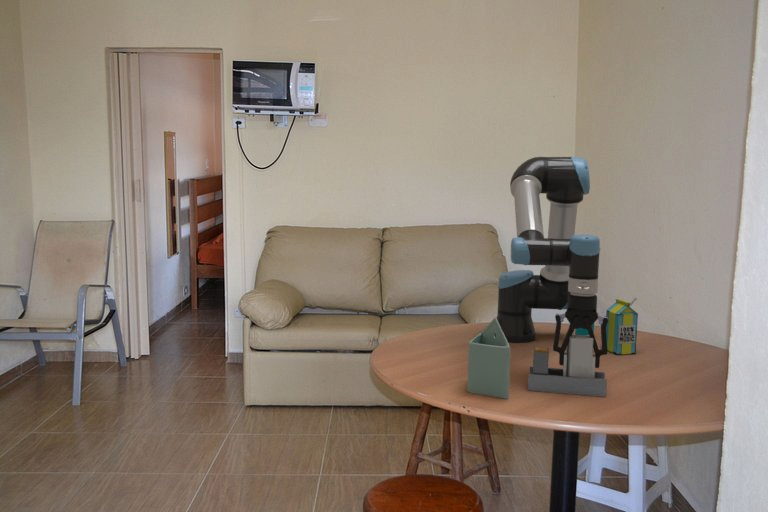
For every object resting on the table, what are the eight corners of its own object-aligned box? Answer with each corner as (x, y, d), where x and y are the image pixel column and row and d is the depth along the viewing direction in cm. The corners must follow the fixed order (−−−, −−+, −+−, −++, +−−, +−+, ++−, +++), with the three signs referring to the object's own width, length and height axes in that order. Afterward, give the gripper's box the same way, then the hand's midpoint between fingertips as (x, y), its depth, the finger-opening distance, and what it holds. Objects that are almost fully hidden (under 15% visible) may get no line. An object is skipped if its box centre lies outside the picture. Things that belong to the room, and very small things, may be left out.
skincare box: (587, 377, 194) (590, 334, 193) (591, 383, 190) (594, 338, 188) (564, 377, 194) (567, 333, 193) (568, 382, 190) (571, 337, 188)
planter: (454, 383, 197) (456, 313, 195) (480, 380, 200) (482, 311, 198) (481, 402, 182) (484, 326, 180) (509, 398, 185) (512, 324, 182)
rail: (529, 382, 199) (530, 344, 198) (603, 388, 194) (606, 349, 193) (528, 390, 192) (529, 351, 190) (605, 396, 187) (608, 357, 186)
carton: (638, 354, 230) (641, 298, 227) (616, 355, 228) (619, 299, 226) (625, 348, 237) (628, 294, 235) (604, 349, 235) (607, 295, 233)
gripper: (544, 294, 188) (540, 379, 191) (622, 298, 183) (617, 385, 186) (544, 289, 195) (541, 371, 198) (619, 293, 190) (615, 377, 193)
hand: (578, 378), depth 192 cm, fingers closed on skincare box, 7 cm apart
